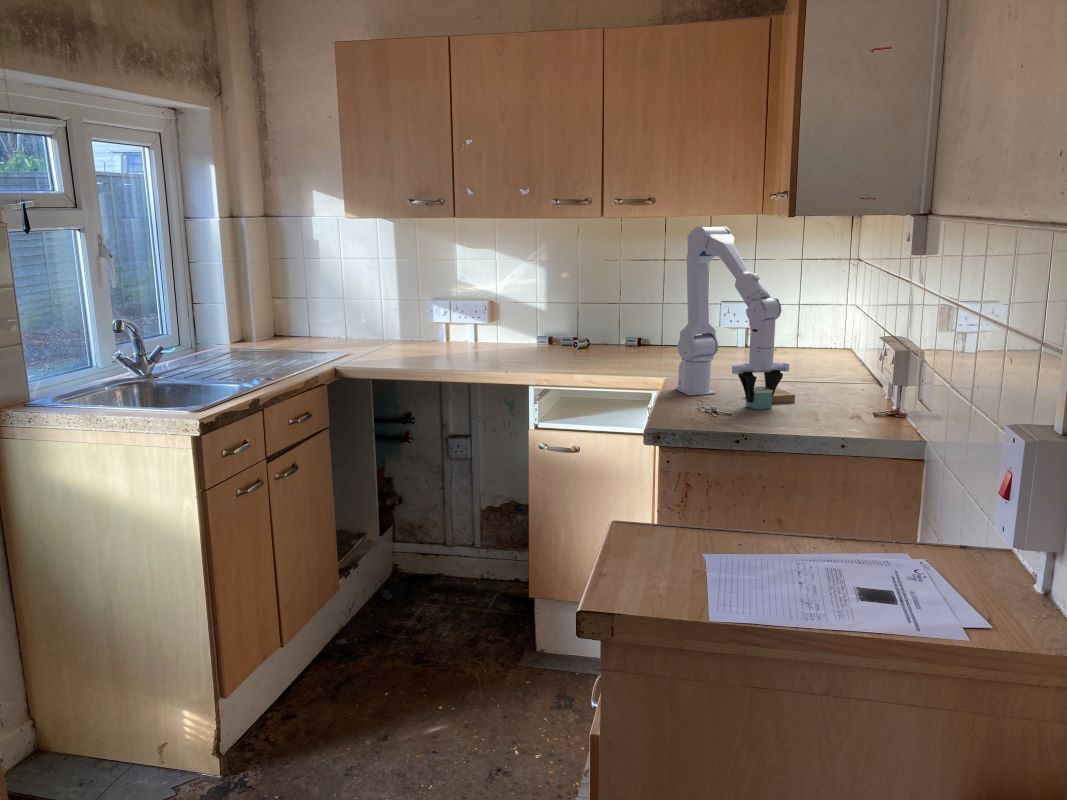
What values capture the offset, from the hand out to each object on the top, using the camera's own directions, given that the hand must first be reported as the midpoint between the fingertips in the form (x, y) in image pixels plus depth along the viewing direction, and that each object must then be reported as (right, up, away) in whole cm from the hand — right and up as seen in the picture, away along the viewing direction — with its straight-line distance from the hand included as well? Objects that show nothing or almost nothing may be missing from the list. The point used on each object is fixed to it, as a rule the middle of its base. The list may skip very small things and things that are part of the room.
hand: (758, 401), depth 205 cm
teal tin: (0, -1, 0) cm, 2 cm away
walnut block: (+5, 0, +9) cm, 10 cm away
